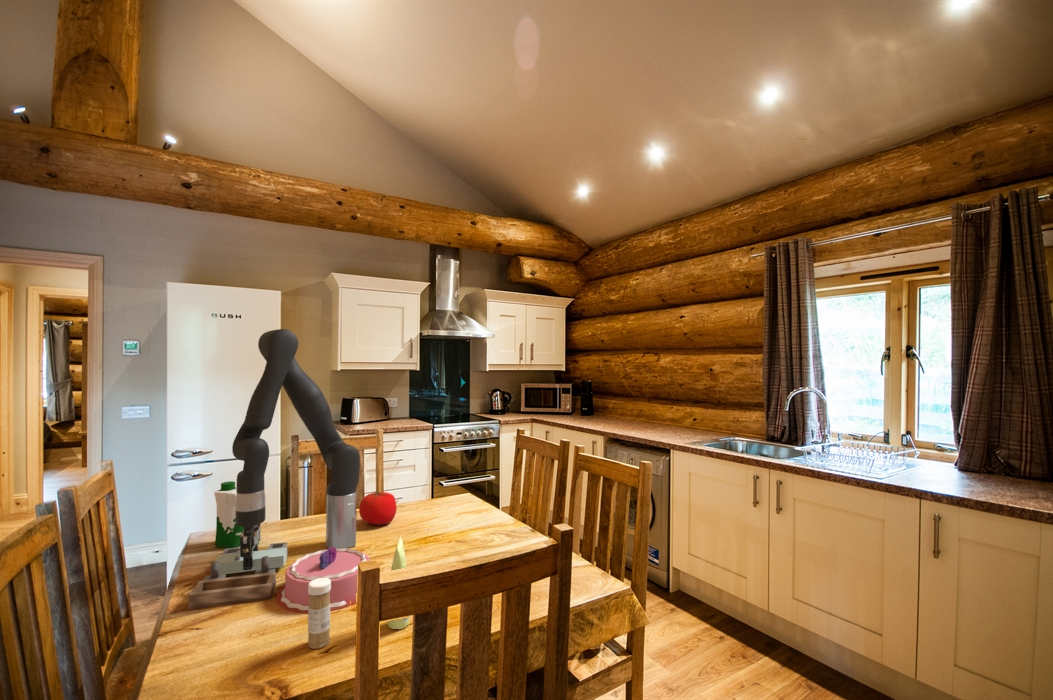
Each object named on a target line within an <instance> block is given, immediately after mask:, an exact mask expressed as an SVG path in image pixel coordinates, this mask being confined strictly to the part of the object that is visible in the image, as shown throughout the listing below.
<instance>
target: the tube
mask: <svg viewBox="0 0 1053 700" xmlns="http://www.w3.org/2000/svg"><path fill="white" fill-rule="evenodd" d="M406 560H407V559H406V553H405V546H404V541H403V539H402V535H400V536H399V539H398V542H397V545H396V548H395V551H394V554H393V559H392V564H391V571H392V570H396V569H401V568H406V567H407V561H406ZM391 571H390V572H391ZM407 625H408V626H409V625H410V616H409V617H408V618H402V619H396V620H391V621H388V620H387V627H388V628H389V627H390V628H394V629H399V630H402V629H405V628H406V627H408V626H407ZM390 628H389V629H390Z"/></svg>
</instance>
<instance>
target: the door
mask: <svg viewBox="0 0 1053 700" xmlns="http://www.w3.org/2000/svg"><path fill="white" fill-rule="evenodd" d="M264 556H269V569H277V568H284V567H285V565H286V562H287V559H288V542H287V541H284V542H276V543H270V544H269V546H268V547H267V549H260V550H258V551H253V567H252V569H250V570H243V557H241V556H240V546H239V547H237V548H229V549H227V548H224V550H223V551H222V553H221V554H219V555H217V556H216V557H215V559H214V561H219V575H223V574H226V575H230V574H236V573H237V574H238V573H245V572H254V571H255V572H256V571H259V570H261V558H262V557H264Z"/></svg>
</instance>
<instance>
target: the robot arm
mask: <svg viewBox="0 0 1053 700" xmlns="http://www.w3.org/2000/svg"><path fill="white" fill-rule="evenodd" d="M257 343H258V344H257V346H258V347H257V348H258V351H259V352H260V354H261V356H262V357H263V359H264V360H265V361H266V363H265V367H264V370H263V373H262V375H261V377H260V380H259V381H258V383H257V385H256V387H255V389H254V391H253V393H252V395H251V397H250V400H249V403H248V407H247V410H246V414H245V416H244V417H245V419H244V421H243V423H242V425H240V427H239V430H238V431H237V434H236V436H235V437H234V439H233V443H232V448H231V450H232V454H233V456H234V458H235V459H237V460H239V461H243V467H242V470H241V471H239V472H238V473H237V476H236V486H237V494H236V525H237V526H242V527H244V531H242V533H241V537H240V546H239V547H240V556H241V557H243V570H250V569H252V567H253V551H259V544H260V540H261V524H262V523H264V522H265V521H266V493H265V491H266V490H265V474H266V471H267V467H268V466H267V465H268V463H269V458H270V448H269V444H268V442H267V441H266V440H265V439H263V438H260V437H261V435H262V433H263V431H265V430H268V429H269V428H270V427H271V425H272V423H273V418H274V414H275V412H276V406H277V403H278V400H279V396H280V393H281V391H282V387H283V389H284V392H285V393H286V395H287V396H288V399H289V400H290V402H291V403H292V406H293V408H294V410H295V411H296V413H297V415H298V416H299V418H300V419H301V421H302V422H303V424H304V426H305V427H306V429H307V431H308V432H309V433H310V434H311V435H312V437H313V439H314V441H315V443H316V446H317V448H318V450H319V452H320V454H321V457H322V460H323V461H324V463H325V465H326V466H327V467H328V468H329V469H331V480H330V482H329V483H328V484H327V486H326V520H325V521H326V523H325V525H326V528H325V547H326V548H327V550H328V549H329V548H330V547H334V548H337V549H344V548H348V549H350V548H351V547H356V546H357V545H356V543H357V487H358V484H359V481H360V469H361V468H360V467H361V457H360V456H361V455H360V452H359V451H358V448H356V447H355V446H354V445H350V444H348V443H346V442H345V441H344V440H343V438H342V437H341V435H340V434H339V432H338V430H337V429H336V427H335V424H334V421H333V415H332V410H331V408H330V404H329V402H328V400H327V398H326V397H325V395H324V393H323V392H322V390H321V388H320V387H319V386H318V385H317V383H316V382H315V381H314V380H313V379H312V378H311V376H309V374H307V373H306V372H305V371H304V370H303V368H302V367H301V366H300V365H299V363H298V361H297V359H296V357H295V356H296V354H297V351H298V348H299V340H298V336H297V335H296V334H295V333H294V332H293V331H292V330H290V329H286V328H279V329H273V330H268V331H266V332H264V333H262V335H260V337H259V338H258V341H257ZM246 550H248V551H246Z"/></svg>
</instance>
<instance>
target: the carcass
mask: <svg viewBox="0 0 1053 700" xmlns="http://www.w3.org/2000/svg"><path fill="white" fill-rule="evenodd" d="M226 576H227V574H223V575H219V561H215V560H213V561H212V562H210V575H206V576H205V577H204V578H203V579H202V580H199V581H198V582H197V584H196V585H195V586H194V587H193V589H191V592H190V593H189V594H188V604H187V605H188V610H195V609H203V608H212V607H220V606H227V605H235V604H245V603H252V602H260V601H268V600H271V597H272V595H273V594H274V591H275V588H276V586H277V572H276V568H271V569H269V556H264V557H262V558H261V570H255V572H254V574H248V575H240V576H239V575H237V576H230V577H226Z"/></svg>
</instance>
